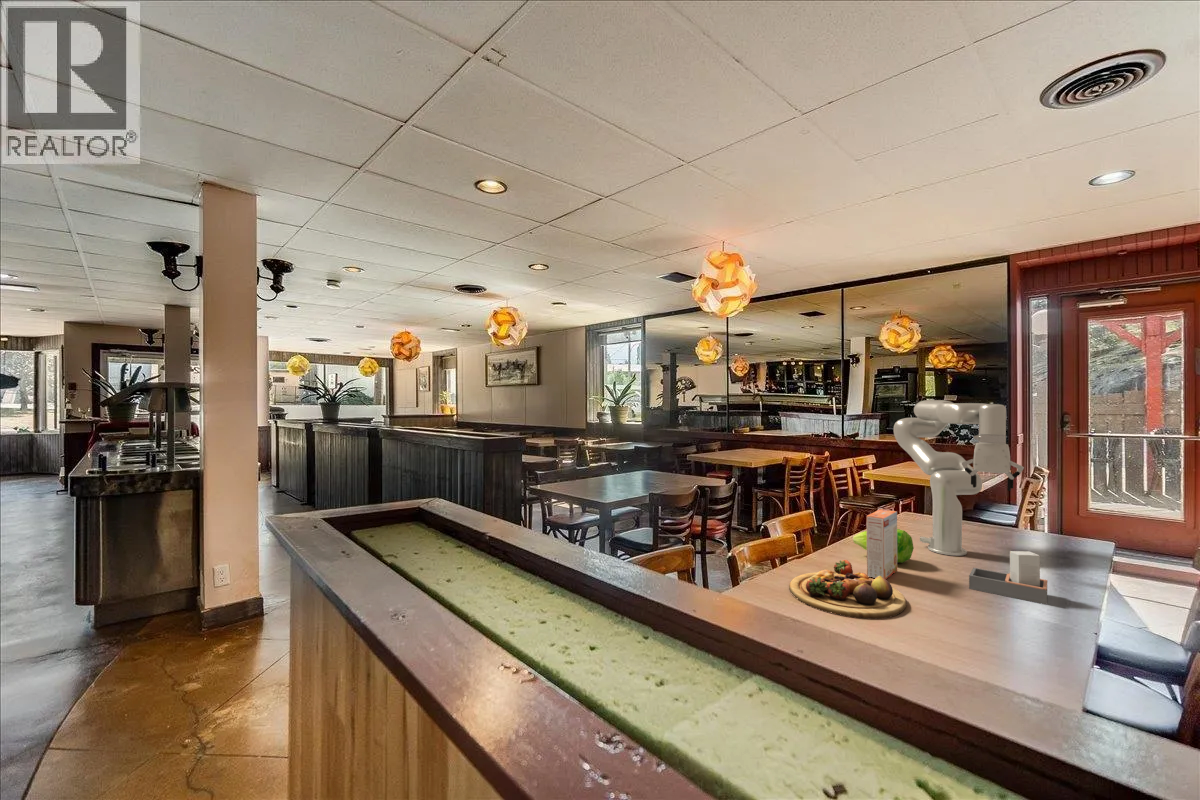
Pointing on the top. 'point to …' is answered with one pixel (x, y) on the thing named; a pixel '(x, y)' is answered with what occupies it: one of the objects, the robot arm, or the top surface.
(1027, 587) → the box
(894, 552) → the cracker box
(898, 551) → the lettuce
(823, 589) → the wooden plate with food
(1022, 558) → the skincare box
